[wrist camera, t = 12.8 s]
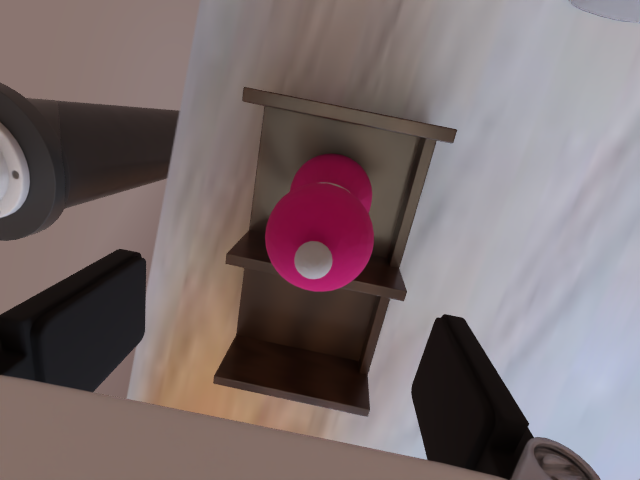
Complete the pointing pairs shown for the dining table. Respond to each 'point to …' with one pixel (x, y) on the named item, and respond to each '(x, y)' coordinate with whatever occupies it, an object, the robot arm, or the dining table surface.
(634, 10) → the lumpy-topped squat cylinder
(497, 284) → the dining table surface
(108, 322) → the robot arm
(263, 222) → the shelf
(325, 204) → the pepper mill
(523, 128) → the dining table surface
